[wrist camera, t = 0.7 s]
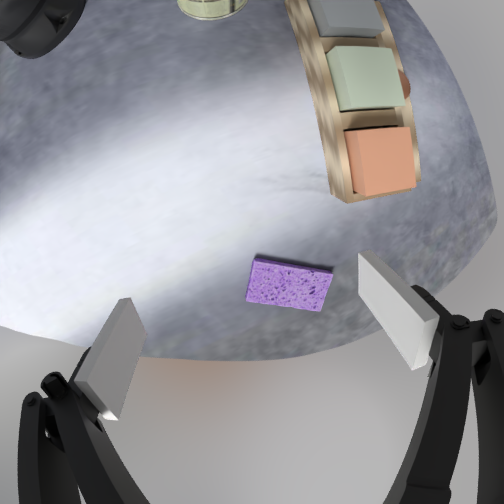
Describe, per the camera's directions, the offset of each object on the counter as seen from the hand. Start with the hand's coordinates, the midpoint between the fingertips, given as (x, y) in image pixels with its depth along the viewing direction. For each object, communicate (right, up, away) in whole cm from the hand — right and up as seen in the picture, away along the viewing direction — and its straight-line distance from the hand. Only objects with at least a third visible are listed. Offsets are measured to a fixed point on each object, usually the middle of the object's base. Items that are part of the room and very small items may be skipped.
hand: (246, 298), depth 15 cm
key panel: (+15, +26, +16) cm, 34 cm away
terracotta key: (+15, +15, +17) cm, 27 cm away
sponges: (+6, -2, +28) cm, 29 cm away
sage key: (+13, +24, +13) cm, 30 cm away
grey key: (+11, +33, +9) cm, 36 cm away
